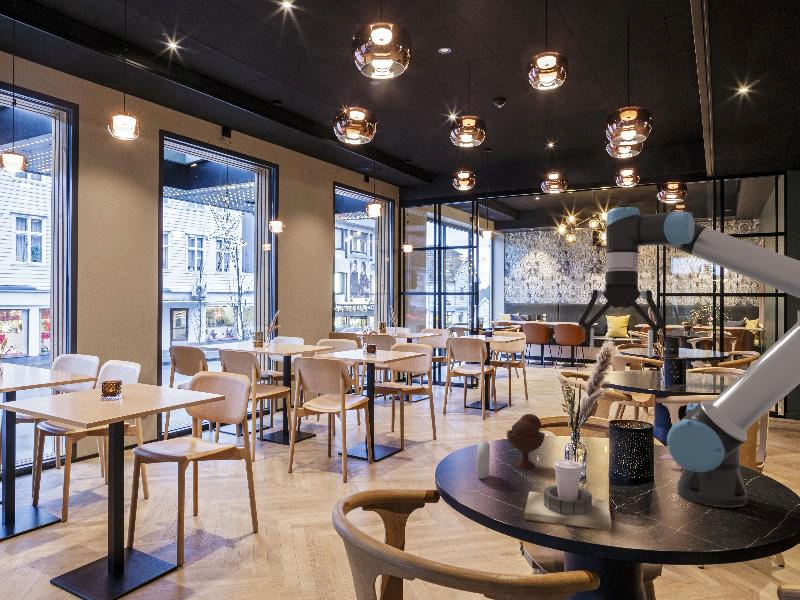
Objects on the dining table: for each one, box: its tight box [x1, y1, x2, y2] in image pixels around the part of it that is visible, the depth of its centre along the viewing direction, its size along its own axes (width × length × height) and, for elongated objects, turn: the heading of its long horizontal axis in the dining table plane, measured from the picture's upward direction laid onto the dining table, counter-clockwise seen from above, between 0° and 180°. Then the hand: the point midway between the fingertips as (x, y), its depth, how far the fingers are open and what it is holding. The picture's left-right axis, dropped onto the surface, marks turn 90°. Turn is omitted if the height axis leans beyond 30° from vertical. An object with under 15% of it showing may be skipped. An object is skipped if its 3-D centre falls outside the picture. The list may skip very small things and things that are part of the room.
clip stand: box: [524, 484, 612, 531], centre depth 129 cm, size 18×14×4 cm
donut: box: [475, 440, 491, 480], centre depth 152 cm, size 10×4×10 cm, turn 171°
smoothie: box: [553, 444, 584, 500], centre depth 129 cm, size 6×6×14 cm
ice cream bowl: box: [506, 413, 546, 470], centre depth 164 cm, size 11×11×15 cm
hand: (620, 355), depth 141 cm, fingers open, 13 cm apart
